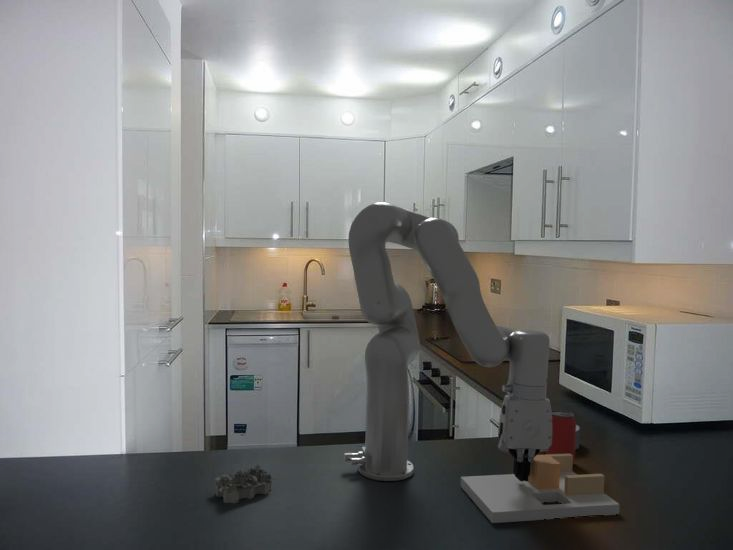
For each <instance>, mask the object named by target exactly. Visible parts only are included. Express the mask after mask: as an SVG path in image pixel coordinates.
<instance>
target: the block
mask: <svg viewBox="0 0 733 550" xmlns="http://www.w3.org/2000/svg"><path fill="white" fill-rule="evenodd" d="M560 466H561V464H560V463H559V462H557V461H556V460H555V459H553V458H552V457H551V456H549V455H546V454H537V455H536V456H535V457H534V460H533V462H531V466H530V475H529V477H528V482H530V483H531V484H532V485H533V486H534V487H535V488H536V489H542V488H559V483H560Z"/></svg>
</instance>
